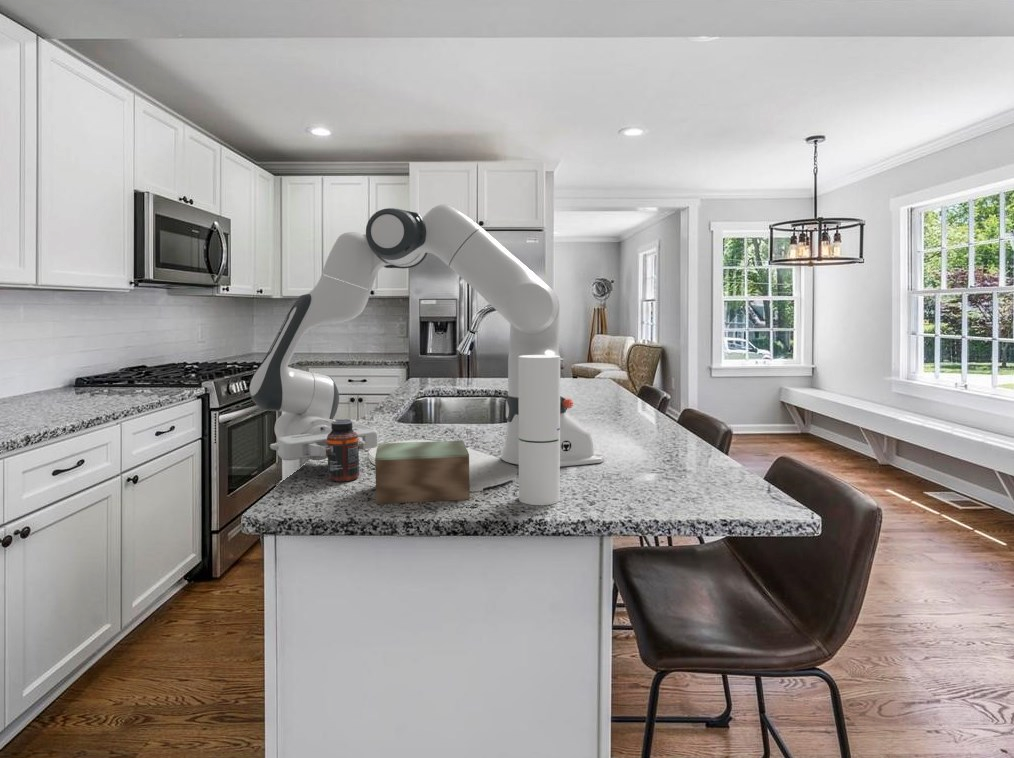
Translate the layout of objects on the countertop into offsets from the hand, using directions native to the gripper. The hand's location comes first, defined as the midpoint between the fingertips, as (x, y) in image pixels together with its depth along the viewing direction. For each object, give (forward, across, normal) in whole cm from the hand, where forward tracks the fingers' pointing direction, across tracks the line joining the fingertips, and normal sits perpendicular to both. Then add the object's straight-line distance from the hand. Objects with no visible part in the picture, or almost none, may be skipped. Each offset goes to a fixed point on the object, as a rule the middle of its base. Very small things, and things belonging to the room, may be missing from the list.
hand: (345, 449), depth 124 cm
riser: (+17, +7, +6) cm, 19 cm away
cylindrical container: (+34, +20, +6) cm, 40 cm away
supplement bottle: (-1, 0, +6) cm, 6 cm away
